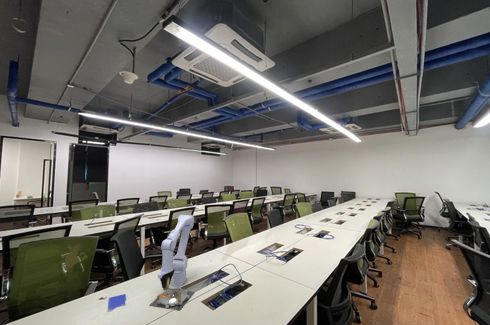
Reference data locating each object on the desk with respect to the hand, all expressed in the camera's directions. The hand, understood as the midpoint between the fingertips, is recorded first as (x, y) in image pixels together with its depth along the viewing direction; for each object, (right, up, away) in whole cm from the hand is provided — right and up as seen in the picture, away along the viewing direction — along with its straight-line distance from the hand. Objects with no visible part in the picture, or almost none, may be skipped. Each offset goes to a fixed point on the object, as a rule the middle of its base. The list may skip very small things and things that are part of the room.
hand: (166, 286), depth 114 cm
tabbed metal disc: (+5, -6, -2) cm, 8 cm away
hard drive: (-24, -7, -6) cm, 26 cm away
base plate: (+5, -7, -2) cm, 9 cm away
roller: (0, -1, 0) cm, 1 cm away
